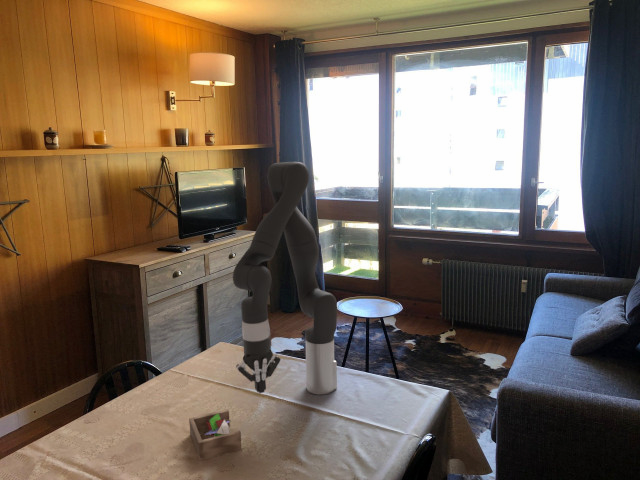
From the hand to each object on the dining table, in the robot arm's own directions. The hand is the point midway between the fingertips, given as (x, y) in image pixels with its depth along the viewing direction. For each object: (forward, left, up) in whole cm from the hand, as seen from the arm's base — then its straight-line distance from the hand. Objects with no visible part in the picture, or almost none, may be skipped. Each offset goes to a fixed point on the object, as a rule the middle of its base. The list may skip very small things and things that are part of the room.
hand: (260, 391), depth 146 cm
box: (+14, +2, -11) cm, 17 cm away
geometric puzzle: (+13, +1, -11) cm, 17 cm away
